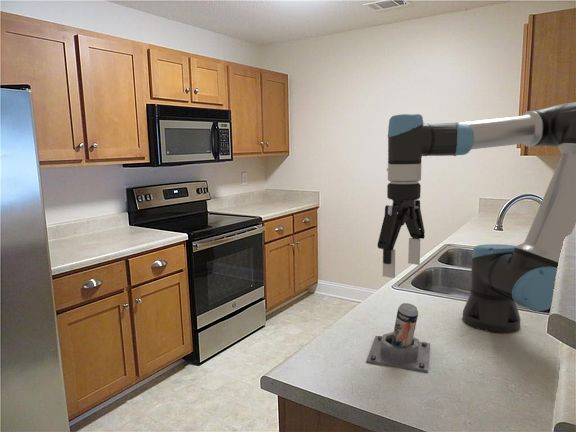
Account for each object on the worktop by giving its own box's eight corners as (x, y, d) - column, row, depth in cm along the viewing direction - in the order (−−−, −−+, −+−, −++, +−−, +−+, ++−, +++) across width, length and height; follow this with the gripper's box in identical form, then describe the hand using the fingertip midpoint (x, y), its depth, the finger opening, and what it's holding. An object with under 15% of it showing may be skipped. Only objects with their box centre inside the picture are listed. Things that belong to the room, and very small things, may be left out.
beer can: (386, 345, 103) (394, 303, 100) (401, 342, 105) (409, 301, 102) (398, 357, 99) (407, 313, 96) (414, 353, 101) (423, 310, 98)
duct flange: (430, 345, 106) (430, 332, 106) (427, 372, 94) (428, 358, 93) (375, 337, 111) (375, 325, 111) (366, 362, 99) (366, 348, 98)
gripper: (411, 178, 108) (409, 256, 111) (362, 185, 89) (361, 279, 92) (440, 179, 103) (437, 261, 106) (394, 187, 84) (392, 286, 87)
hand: (401, 270), depth 99 cm, fingers open, 13 cm apart
